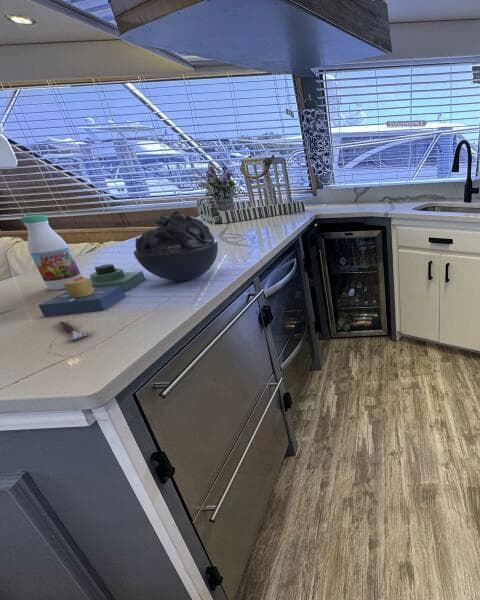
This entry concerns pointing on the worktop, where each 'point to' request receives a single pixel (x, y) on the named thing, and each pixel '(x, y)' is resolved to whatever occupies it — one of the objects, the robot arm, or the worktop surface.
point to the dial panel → (82, 302)
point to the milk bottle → (50, 253)
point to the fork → (70, 329)
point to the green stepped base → (117, 279)
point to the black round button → (105, 269)
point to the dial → (78, 287)
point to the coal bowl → (177, 248)
